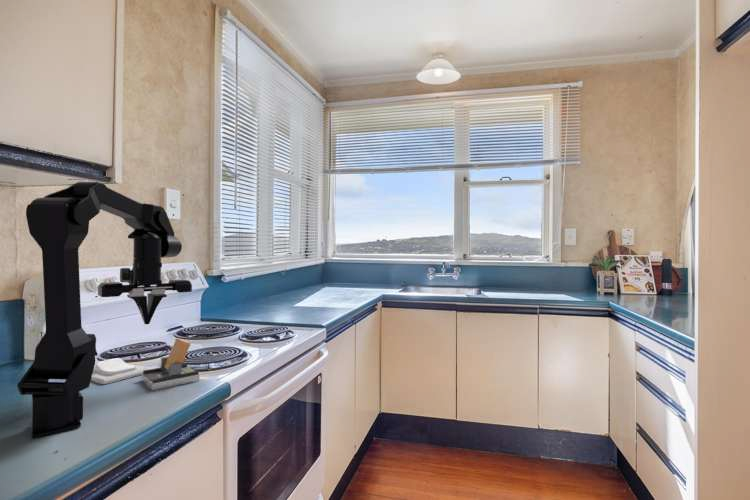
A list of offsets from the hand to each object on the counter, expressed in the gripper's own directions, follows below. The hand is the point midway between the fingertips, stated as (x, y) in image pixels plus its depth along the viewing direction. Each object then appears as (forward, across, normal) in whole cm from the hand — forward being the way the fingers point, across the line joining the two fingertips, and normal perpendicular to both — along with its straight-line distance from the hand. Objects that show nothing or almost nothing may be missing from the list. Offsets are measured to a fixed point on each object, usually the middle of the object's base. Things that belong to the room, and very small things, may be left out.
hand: (146, 324), depth 94 cm
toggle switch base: (+13, -4, +5) cm, 14 cm away
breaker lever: (+10, -4, +5) cm, 12 cm away
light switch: (+14, +5, -9) cm, 17 cm away
